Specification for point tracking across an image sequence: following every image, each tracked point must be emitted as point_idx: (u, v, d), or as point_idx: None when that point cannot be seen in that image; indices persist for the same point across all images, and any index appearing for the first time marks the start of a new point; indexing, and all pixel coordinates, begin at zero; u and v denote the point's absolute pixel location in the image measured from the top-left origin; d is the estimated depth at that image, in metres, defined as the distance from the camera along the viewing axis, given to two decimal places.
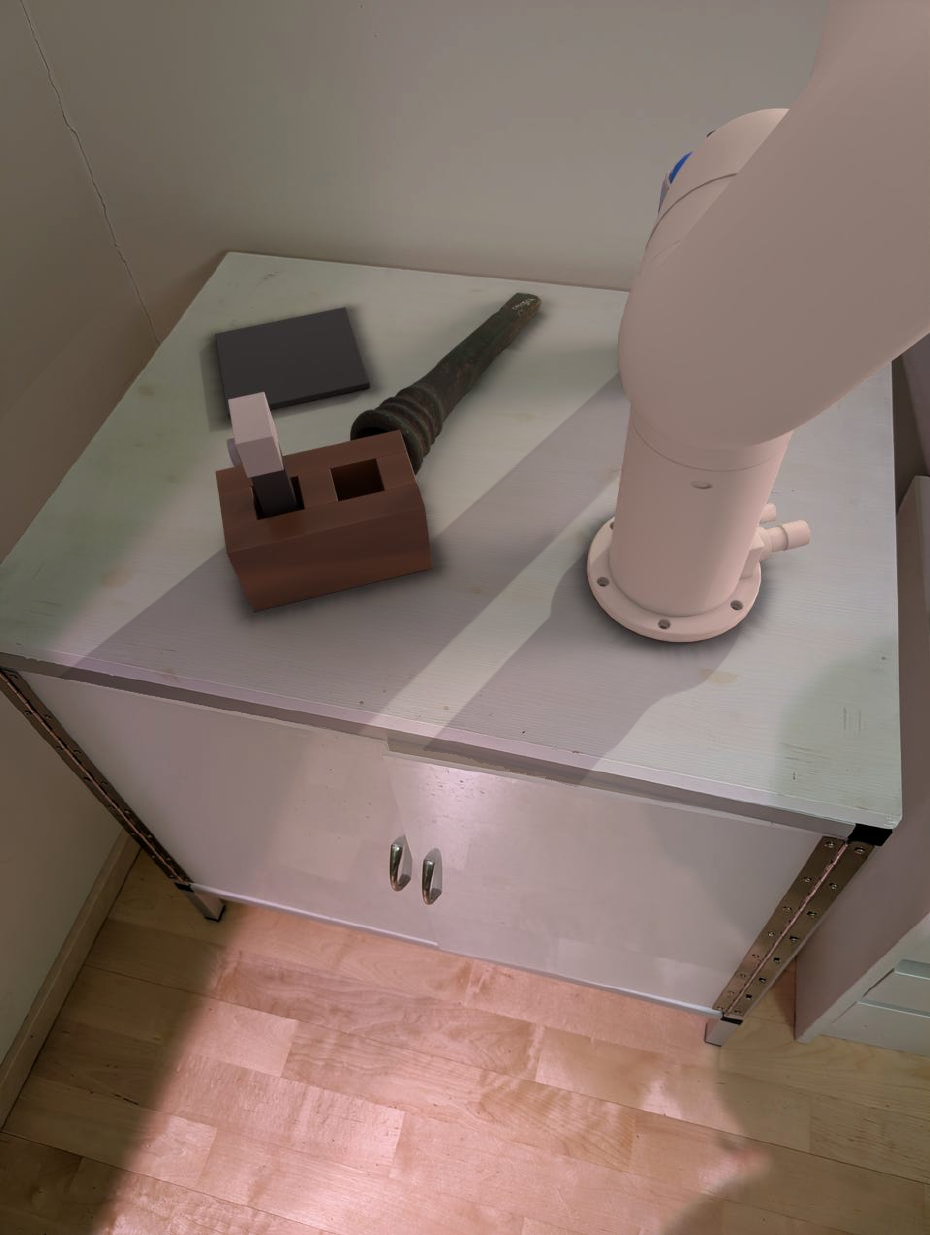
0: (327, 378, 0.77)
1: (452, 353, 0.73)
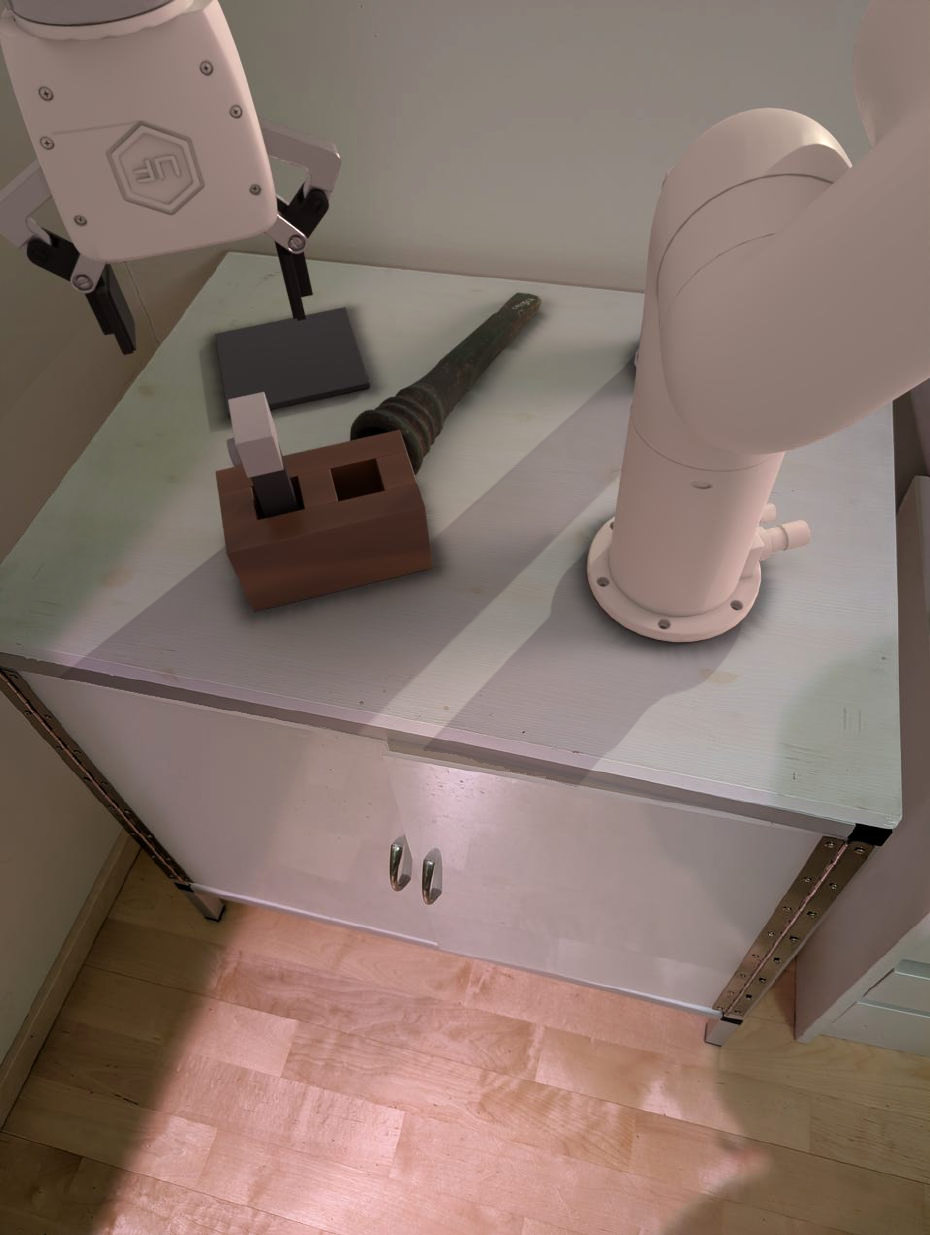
0: (327, 378, 0.77)
1: (452, 353, 0.73)
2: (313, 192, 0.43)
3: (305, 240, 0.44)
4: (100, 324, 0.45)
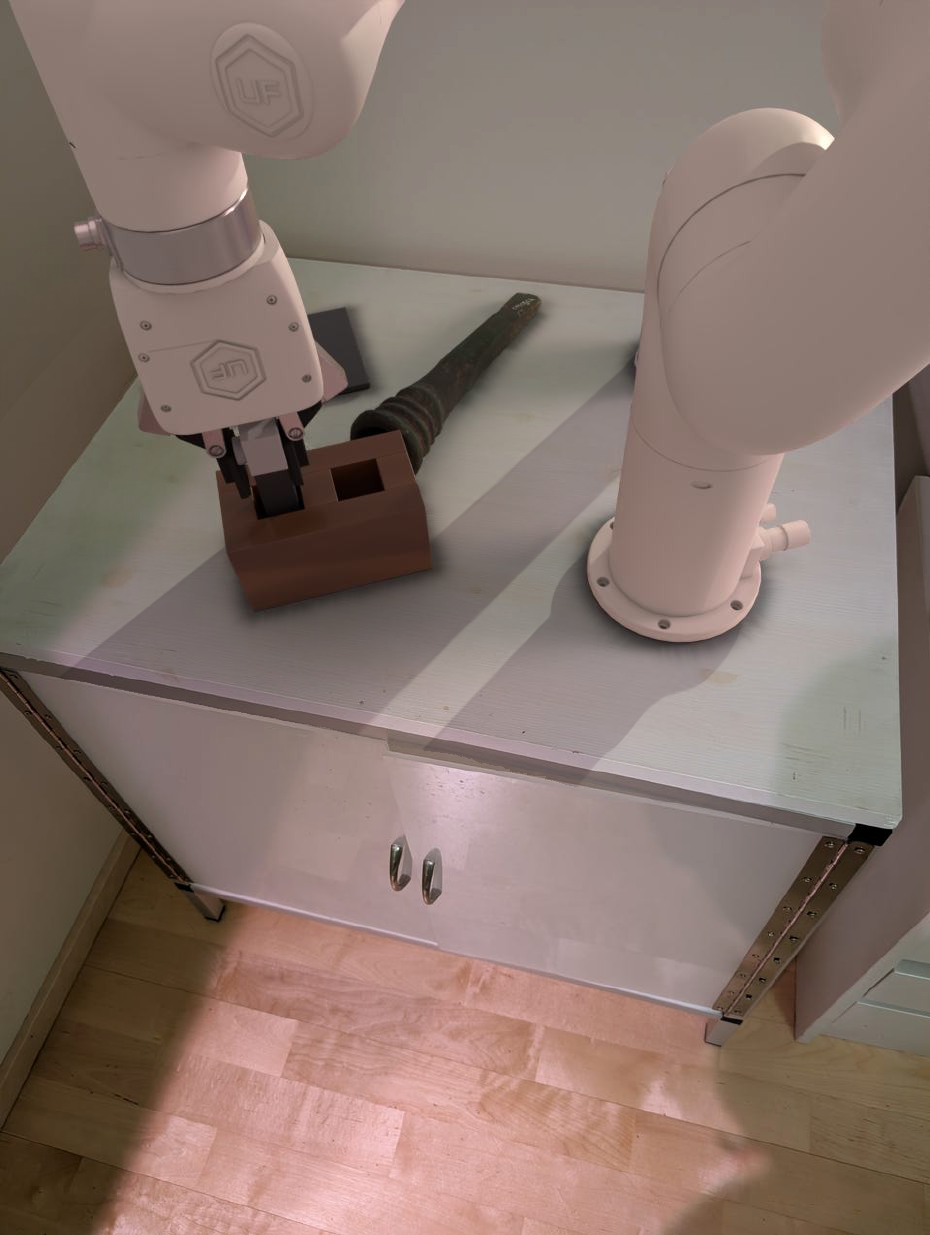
0: None
1: (452, 353, 0.73)
2: None
3: (303, 431, 0.54)
4: (224, 477, 0.56)
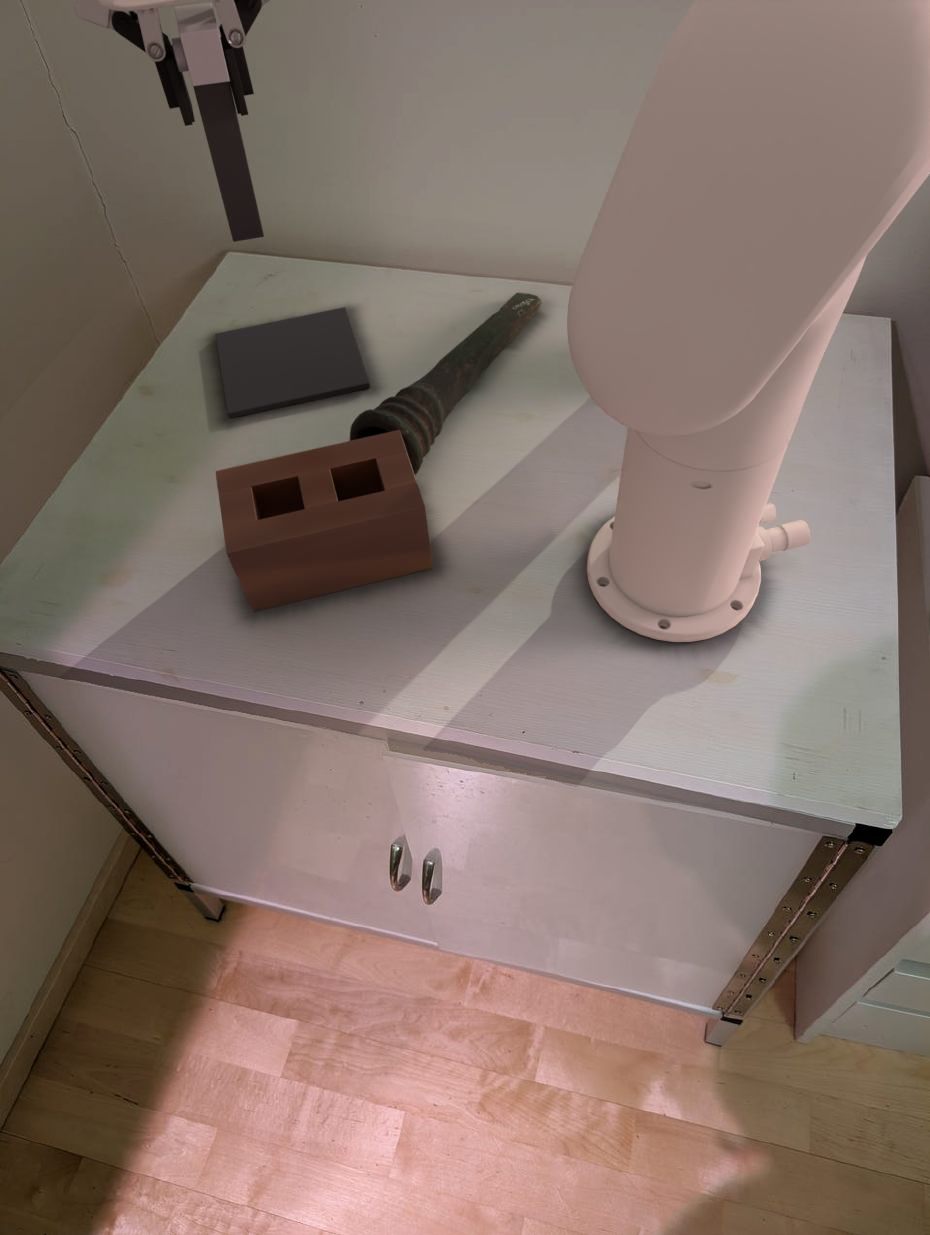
0: (327, 378, 0.77)
1: (452, 353, 0.73)
2: None
3: (243, 35, 0.53)
4: (166, 96, 0.55)
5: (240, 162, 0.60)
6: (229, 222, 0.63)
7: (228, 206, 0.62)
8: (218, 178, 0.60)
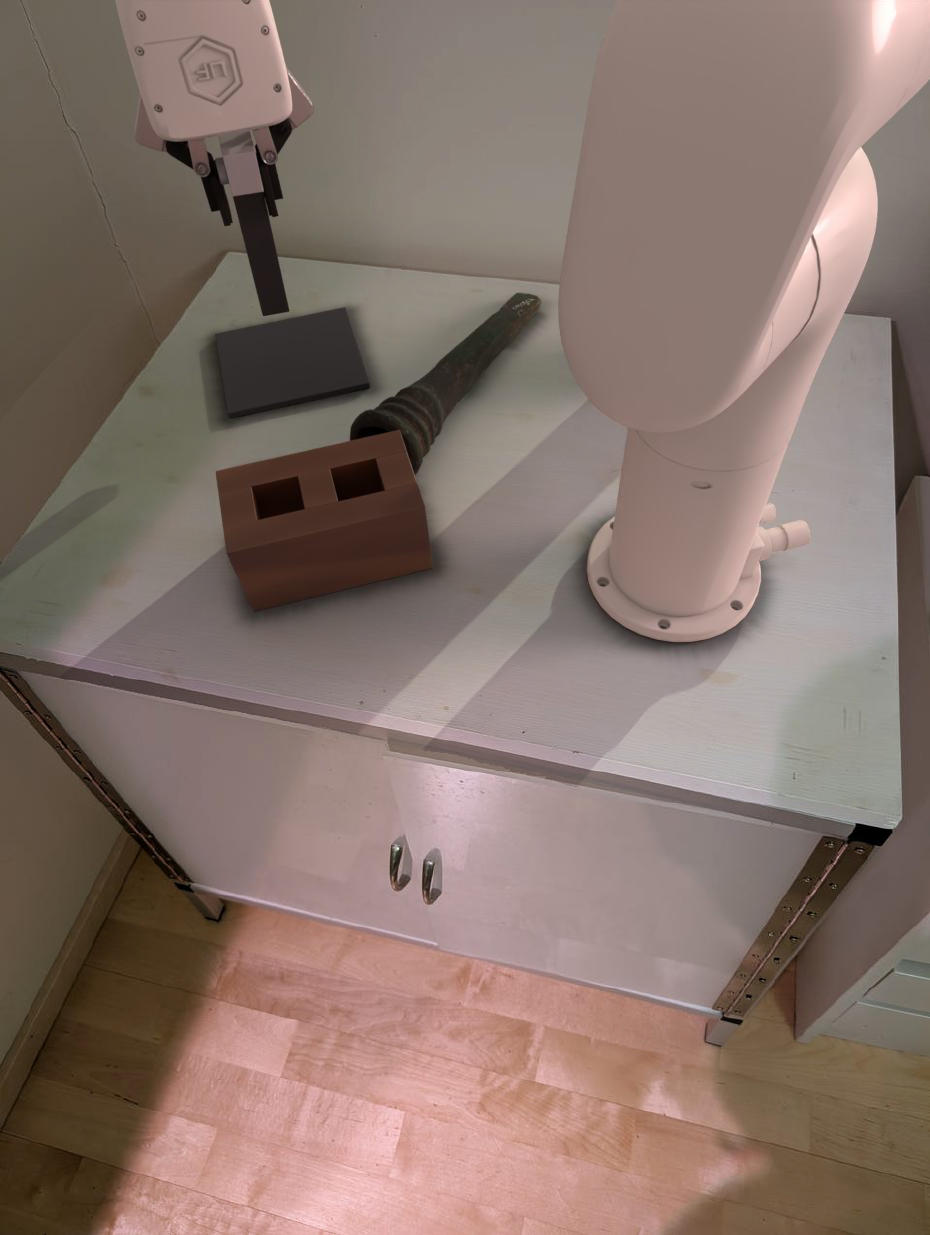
0: (327, 378, 0.77)
1: (452, 353, 0.73)
2: None
3: (276, 155, 0.63)
4: (209, 202, 0.65)
5: (270, 252, 0.69)
6: (260, 300, 0.73)
7: (259, 288, 0.72)
8: (251, 266, 0.70)
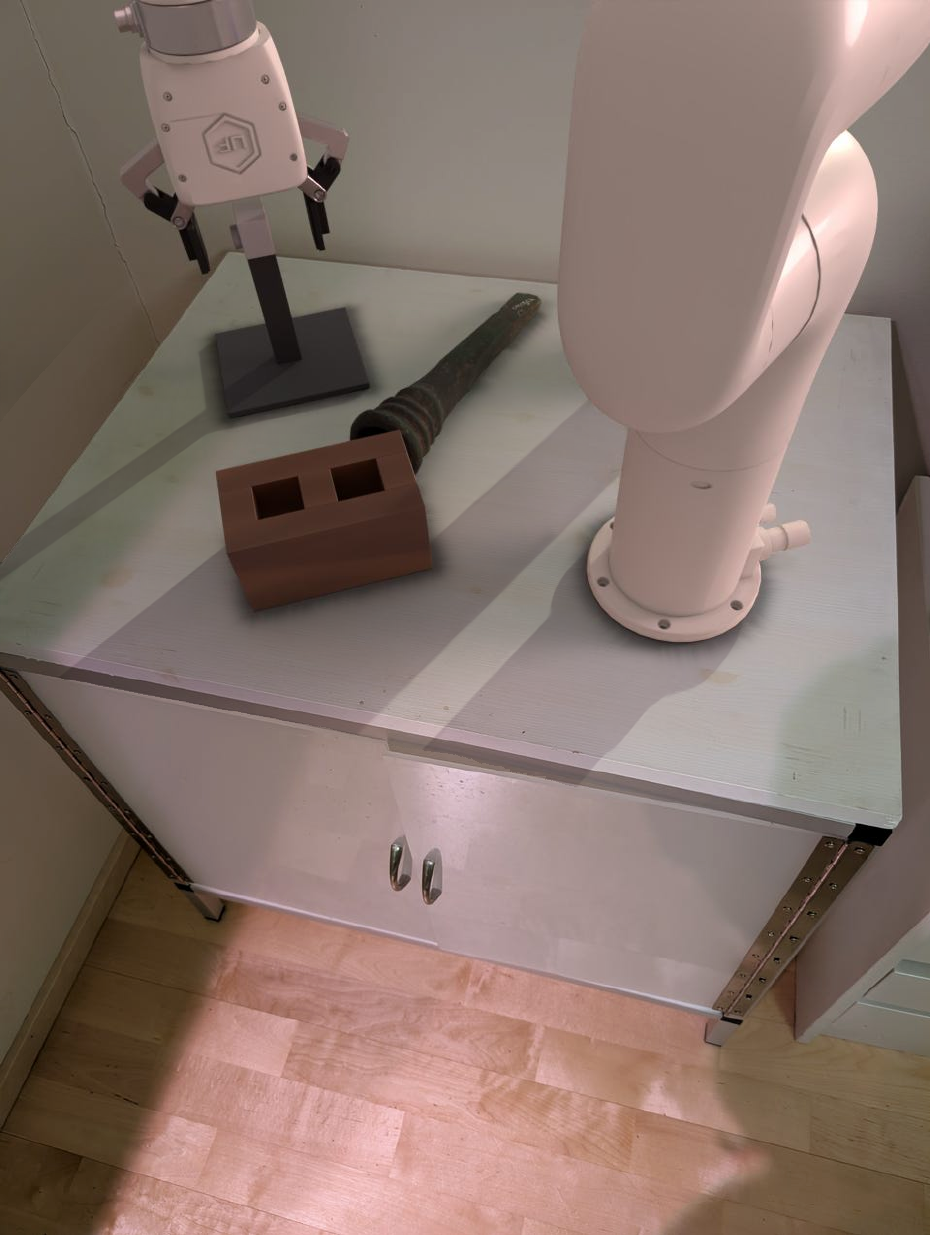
0: (327, 378, 0.77)
1: (452, 353, 0.73)
2: (330, 160, 0.65)
3: (325, 193, 0.66)
4: (187, 252, 0.67)
5: (283, 307, 0.74)
6: (274, 350, 0.77)
7: (273, 339, 0.76)
8: (265, 319, 0.74)
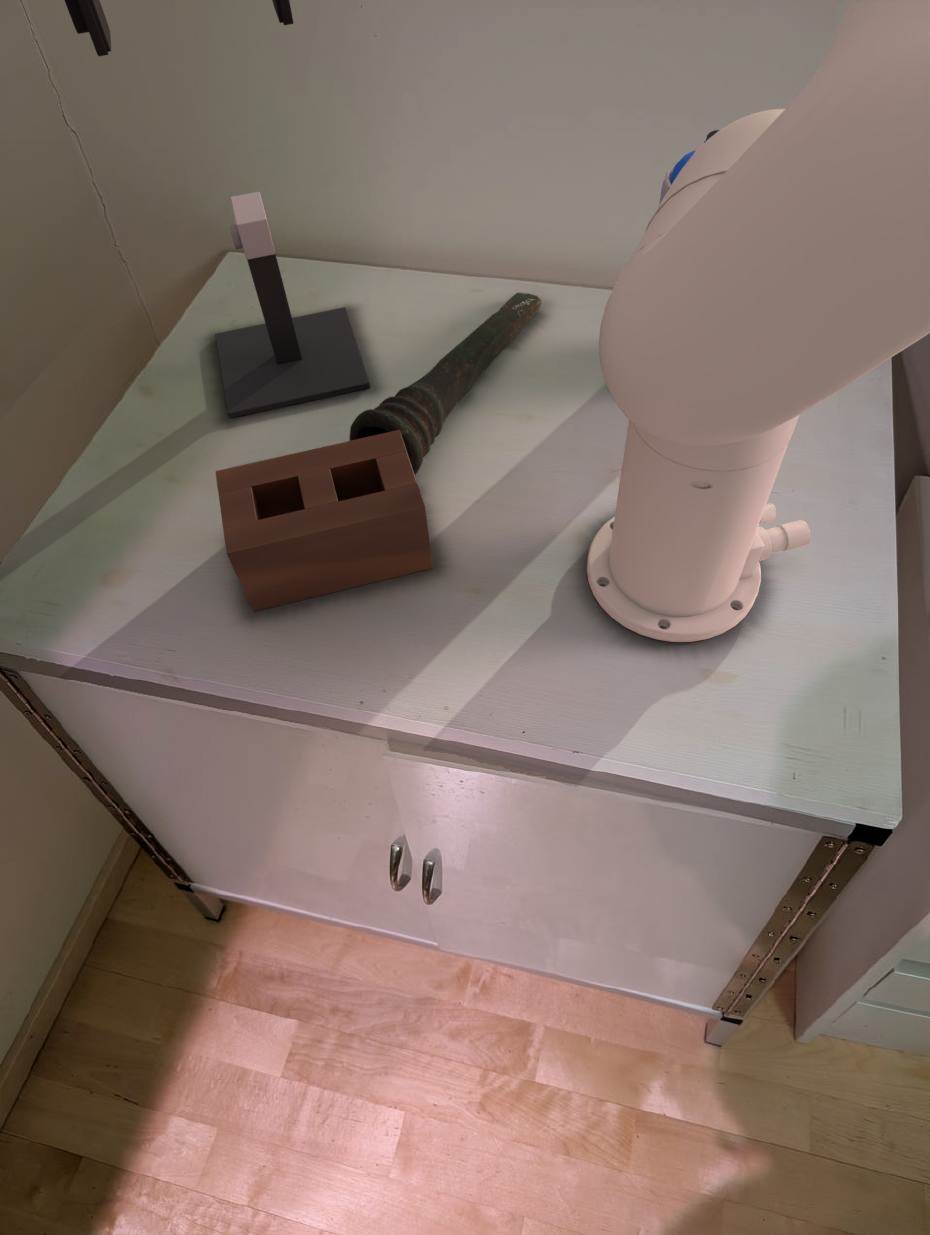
0: (327, 378, 0.77)
1: (452, 353, 0.73)
2: None
3: None
4: (71, 15, 0.42)
5: (283, 307, 0.74)
6: (274, 350, 0.77)
7: (273, 339, 0.76)
8: (265, 319, 0.74)
